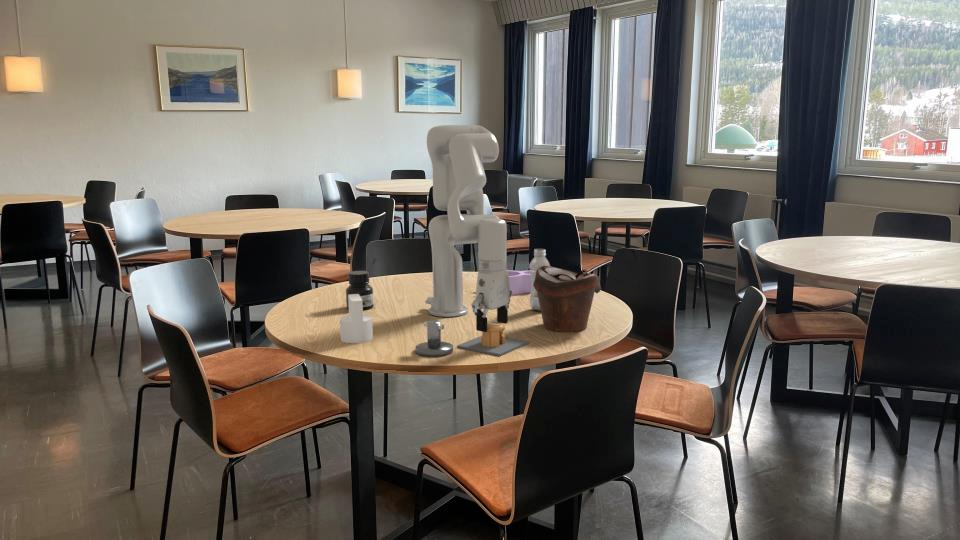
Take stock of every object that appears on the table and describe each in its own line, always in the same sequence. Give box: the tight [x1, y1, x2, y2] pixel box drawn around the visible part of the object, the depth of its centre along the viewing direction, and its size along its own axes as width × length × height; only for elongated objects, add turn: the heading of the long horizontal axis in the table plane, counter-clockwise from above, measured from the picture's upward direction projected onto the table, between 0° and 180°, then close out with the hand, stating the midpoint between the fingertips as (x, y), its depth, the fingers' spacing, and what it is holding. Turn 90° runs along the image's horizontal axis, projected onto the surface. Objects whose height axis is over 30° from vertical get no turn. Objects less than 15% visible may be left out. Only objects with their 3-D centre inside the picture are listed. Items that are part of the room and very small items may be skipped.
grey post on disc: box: [415, 319, 454, 358], centre depth 187 cm, size 10×10×8 cm
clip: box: [507, 269, 532, 296], centre depth 259 cm, size 20×12×7 cm, turn 99°
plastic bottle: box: [529, 248, 551, 312], centre depth 229 cm, size 6×7×20 cm
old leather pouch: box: [533, 265, 602, 333], centre depth 209 cm, size 18×20×18 cm
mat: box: [456, 335, 530, 357], centre depth 192 cm, size 14×14×1 cm
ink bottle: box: [345, 270, 374, 311], centre depth 236 cm, size 10×9×12 cm
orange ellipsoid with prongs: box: [480, 321, 506, 347], centre depth 192 cm, size 6×6×6 cm
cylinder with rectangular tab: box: [339, 294, 374, 344], centre depth 199 cm, size 9×9×12 cm
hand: (492, 326), depth 192 cm, fingers open, 9 cm apart
